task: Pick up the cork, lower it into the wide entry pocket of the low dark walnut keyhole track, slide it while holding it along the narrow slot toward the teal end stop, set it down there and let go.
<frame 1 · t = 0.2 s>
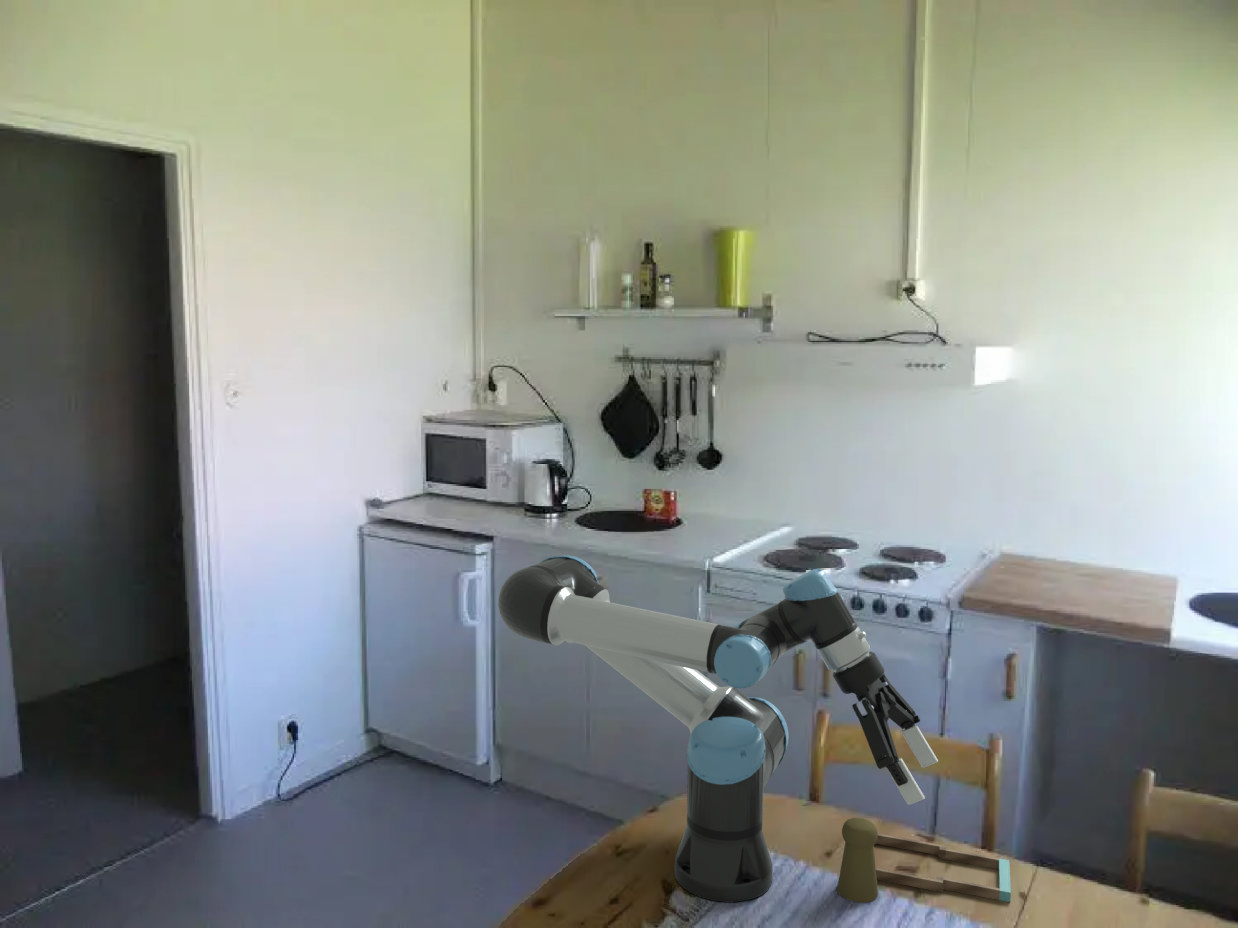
hand: (923, 782, 147), 15 cm above the table, tool tilted 35°, fingers open, 13 cm apart
cork: (857, 892, 143), on the table
keyhole track: (924, 869, 149), on the table
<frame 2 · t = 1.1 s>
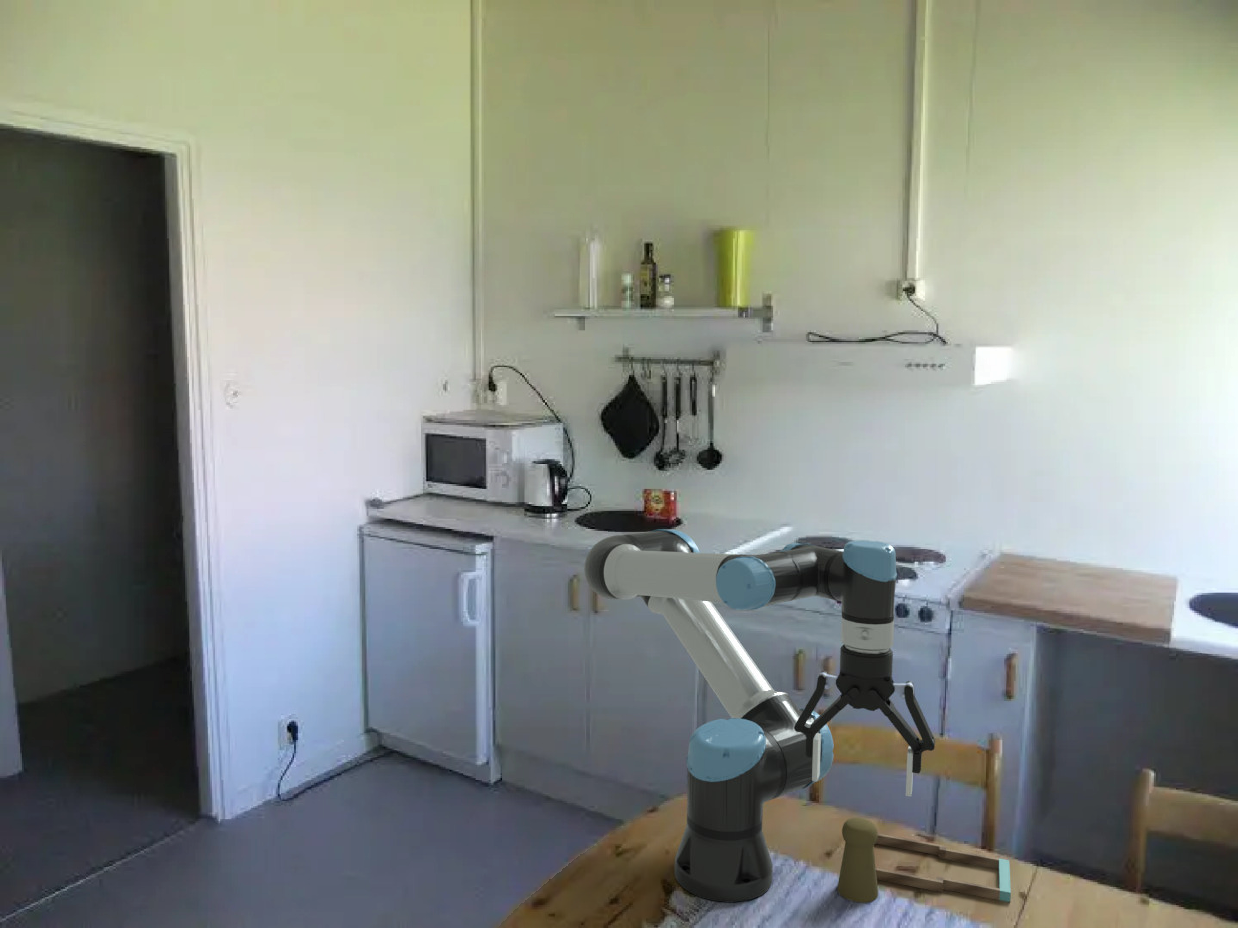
hand: (861, 785, 141), 17 cm above the table, tool pointing down, fingers open, 13 cm apart
nothing on the table moved.
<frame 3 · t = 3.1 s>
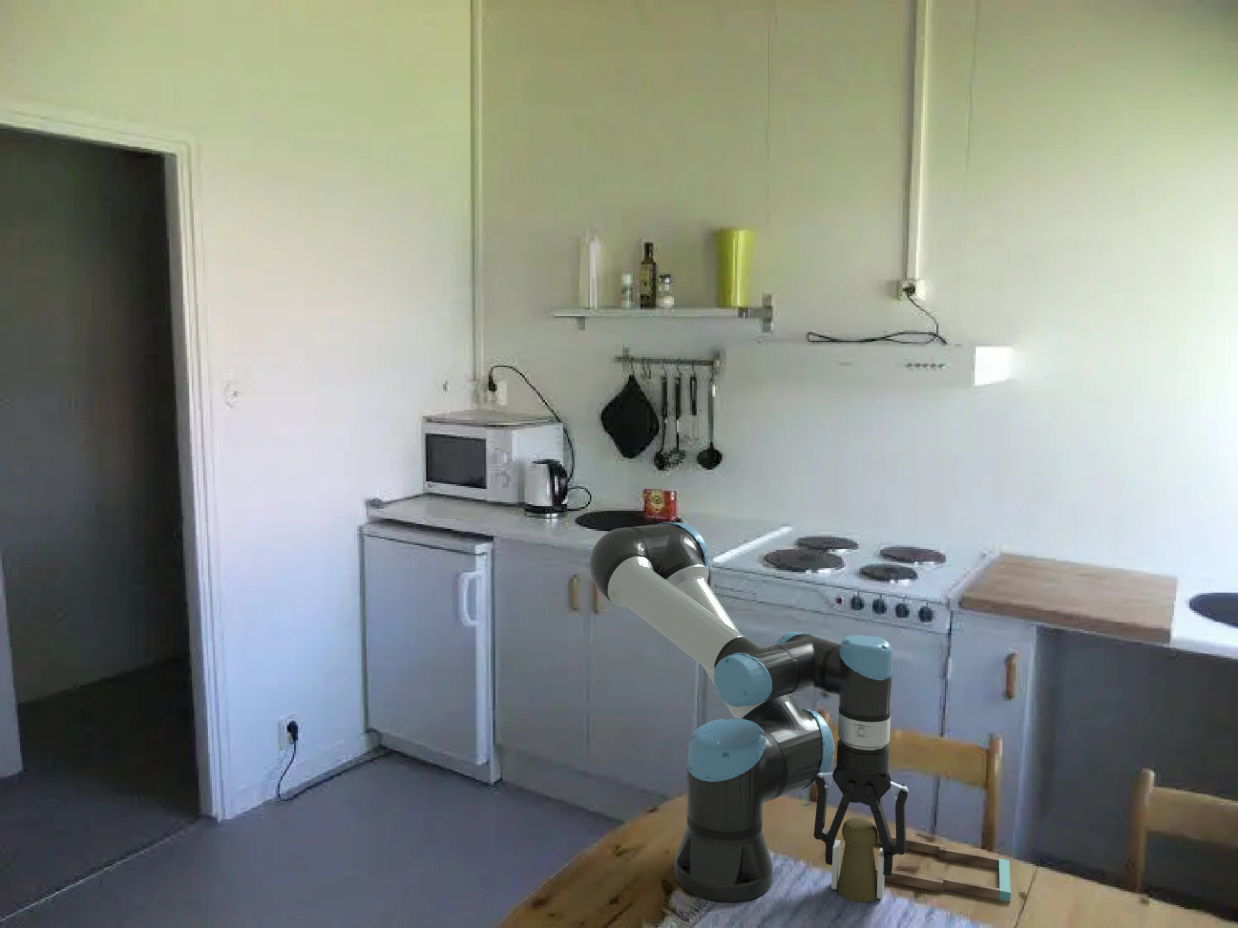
hand: (857, 889, 143), 0 cm above the table, tool pointing down, fingers closed on cork, 6 cm apart
cork: (857, 892, 143), on the table, touching gripper
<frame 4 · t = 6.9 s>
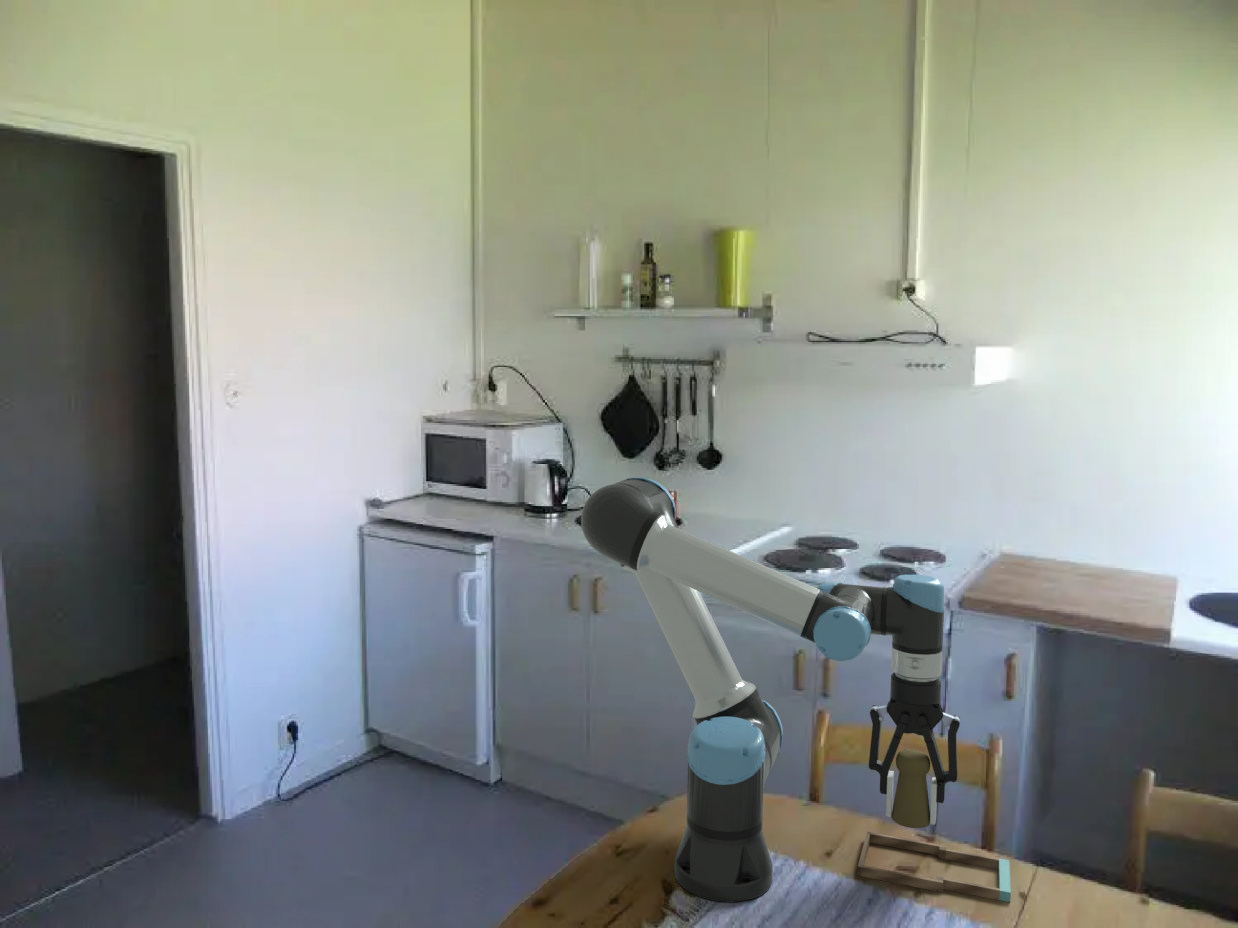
hand: (911, 816, 150), 8 cm above the table, tool pointing down, fingers closed on cork, 6 cm apart
cork: (910, 820, 150), point 8 cm above the table, touching gripper
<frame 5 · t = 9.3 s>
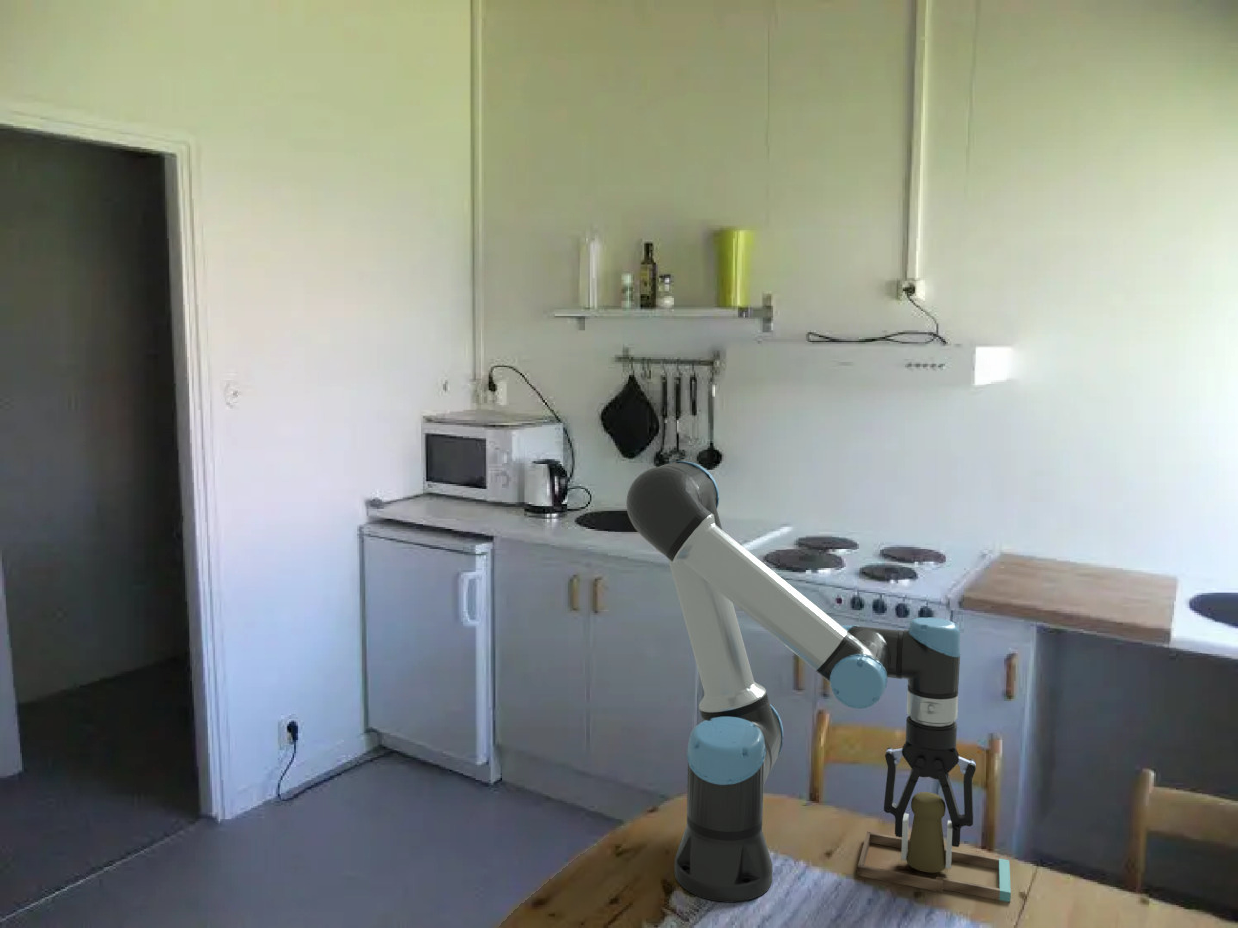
hand: (926, 860, 149), 2 cm above the table, tool pointing down, fingers closed on cork, 6 cm apart
cork: (926, 863, 149), point 1 cm above the table, touching gripper
when the fingers open (0 cm above the table, at t = 11.0 s): cork stays where it is, resting in keyhole track.
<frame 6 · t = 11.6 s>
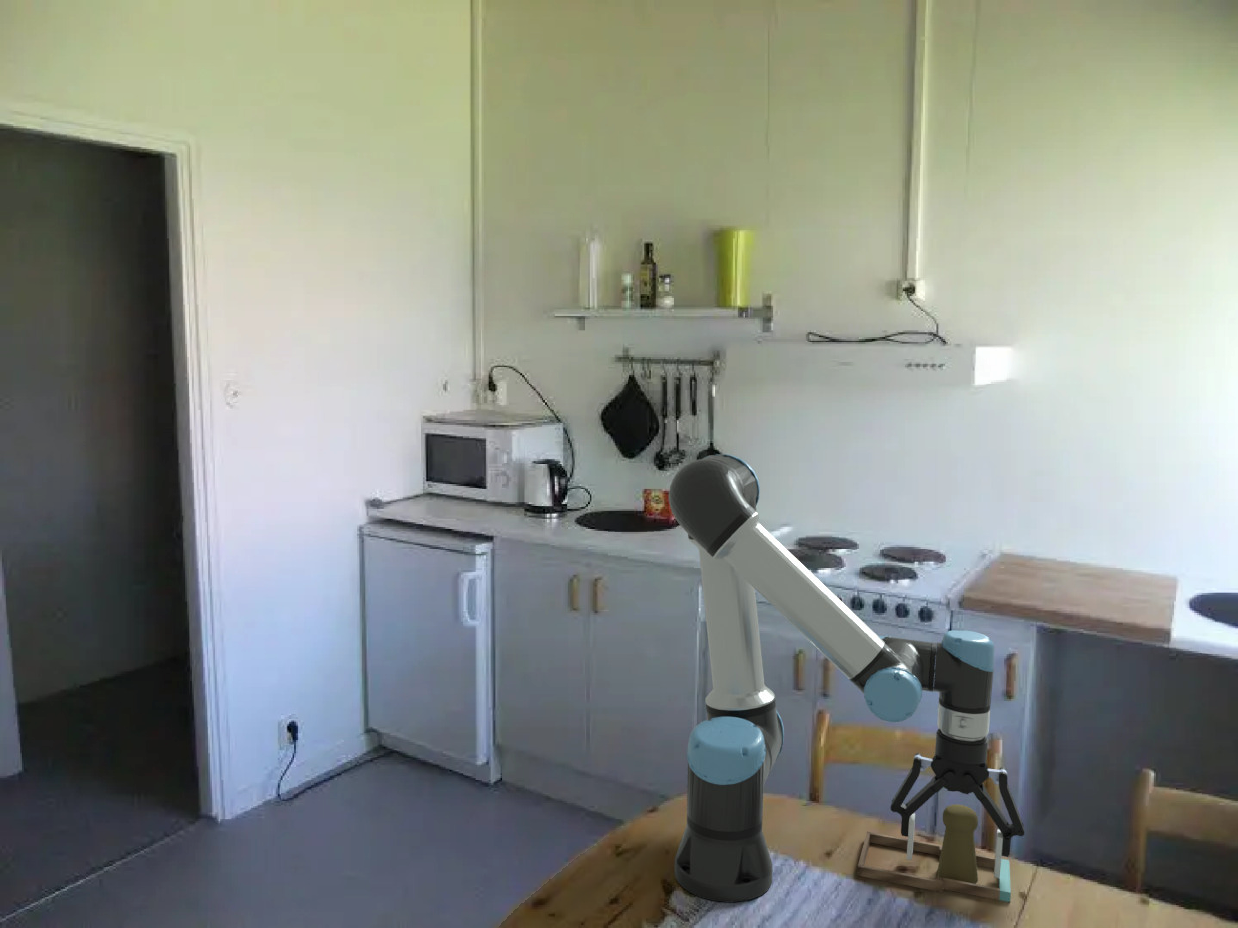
hand: (952, 864, 148), 2 cm above the table, tool pointing down, fingers open, 12 cm apart
cork: (957, 877, 148), resting in keyhole track
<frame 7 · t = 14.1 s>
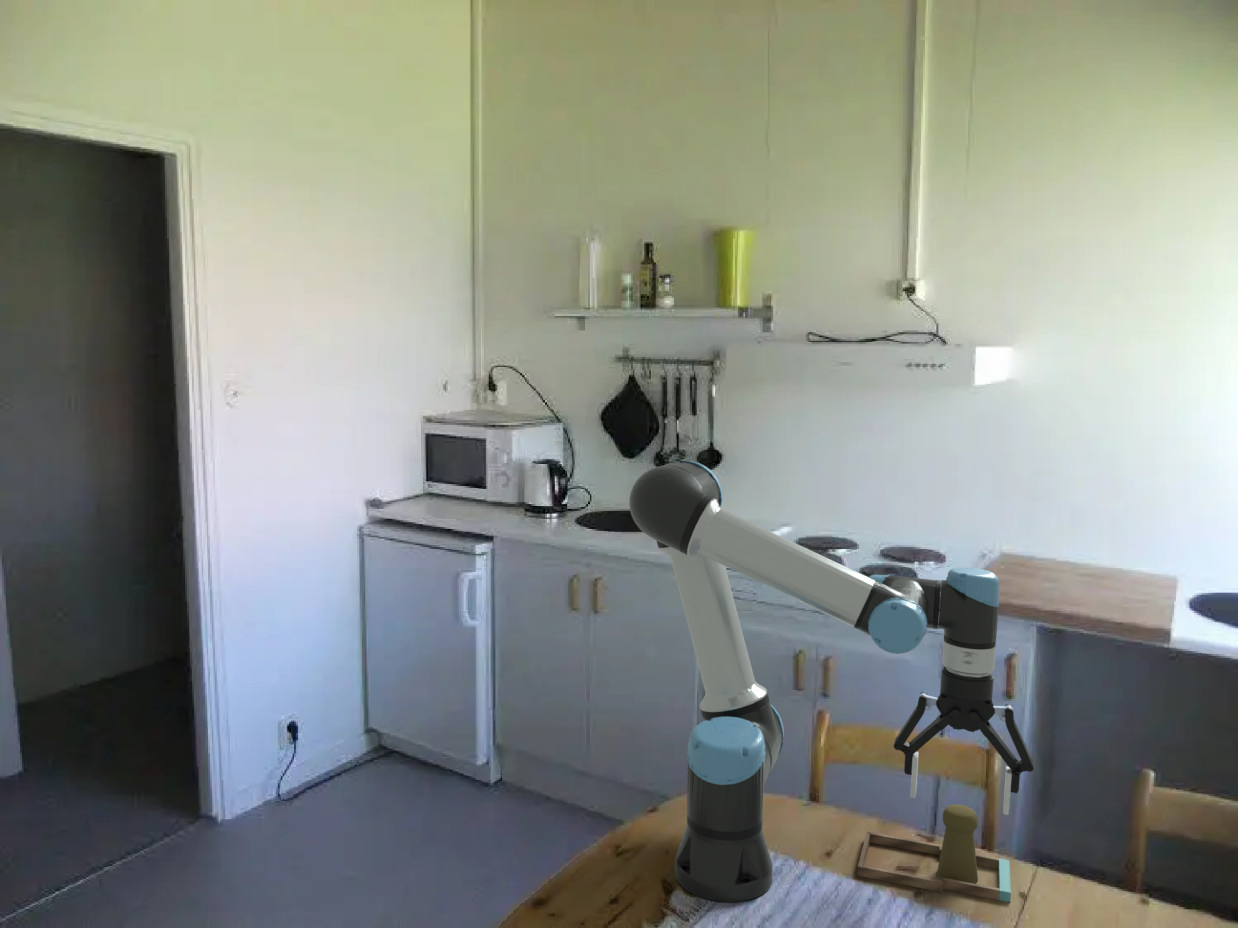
hand: (958, 802, 147), 12 cm above the table, tool pointing down, fingers open, 13 cm apart
nothing on the table moved.
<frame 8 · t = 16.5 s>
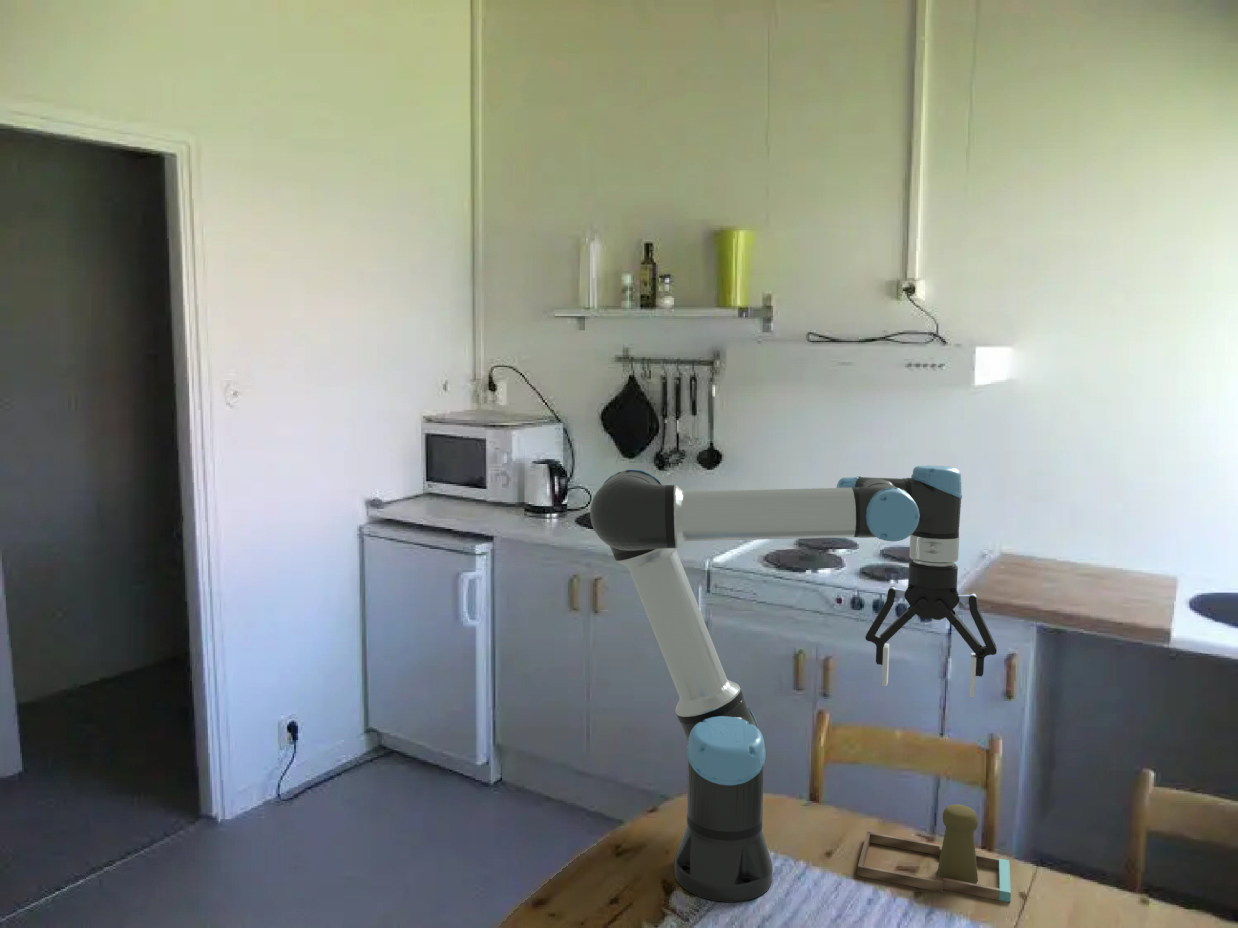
hand: (927, 689, 154), 27 cm above the table, tool pointing down, fingers open, 13 cm apart
nothing on the table moved.
at the end: cork 1.0 cm from the target spot on the keyhole track, point 0.0 cm above the keyhole track's base; cork tilted 0°; the gripper is holding nothing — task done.
